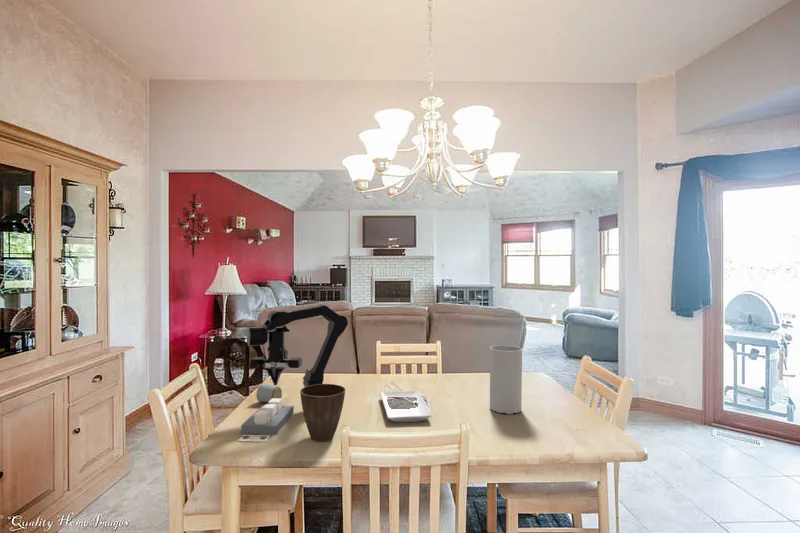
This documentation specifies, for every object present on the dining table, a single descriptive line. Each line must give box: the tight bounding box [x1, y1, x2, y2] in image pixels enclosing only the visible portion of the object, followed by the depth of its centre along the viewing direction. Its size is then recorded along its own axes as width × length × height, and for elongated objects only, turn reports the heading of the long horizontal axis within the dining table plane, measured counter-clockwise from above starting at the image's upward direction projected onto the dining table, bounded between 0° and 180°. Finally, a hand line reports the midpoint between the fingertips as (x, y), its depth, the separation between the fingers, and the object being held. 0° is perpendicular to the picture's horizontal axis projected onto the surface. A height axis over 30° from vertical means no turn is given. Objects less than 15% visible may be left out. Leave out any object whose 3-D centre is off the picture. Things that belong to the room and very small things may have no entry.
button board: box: [240, 404, 295, 436], centre depth 153 cm, size 12×21×3 cm, turn 178°
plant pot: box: [299, 383, 346, 443], centre depth 141 cm, size 15×15×16 cm
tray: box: [380, 390, 432, 423], centre depth 169 cm, size 17×32×4 cm, turn 7°
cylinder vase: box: [489, 344, 523, 415], centre depth 171 cm, size 12×12×25 cm
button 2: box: [268, 398, 283, 411], centre depth 160 cm, size 4×4×4 cm
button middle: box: [261, 403, 277, 418], centre depth 153 cm, size 4×4×4 cm
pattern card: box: [237, 434, 272, 443], centre depth 139 cm, size 9×5×1 cm, turn 88°
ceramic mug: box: [255, 382, 283, 404], centre depth 178 cm, size 11×8×8 cm
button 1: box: [254, 411, 270, 425], centre depth 146 cm, size 4×4×4 cm
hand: (275, 385), depth 160 cm, fingers closed
